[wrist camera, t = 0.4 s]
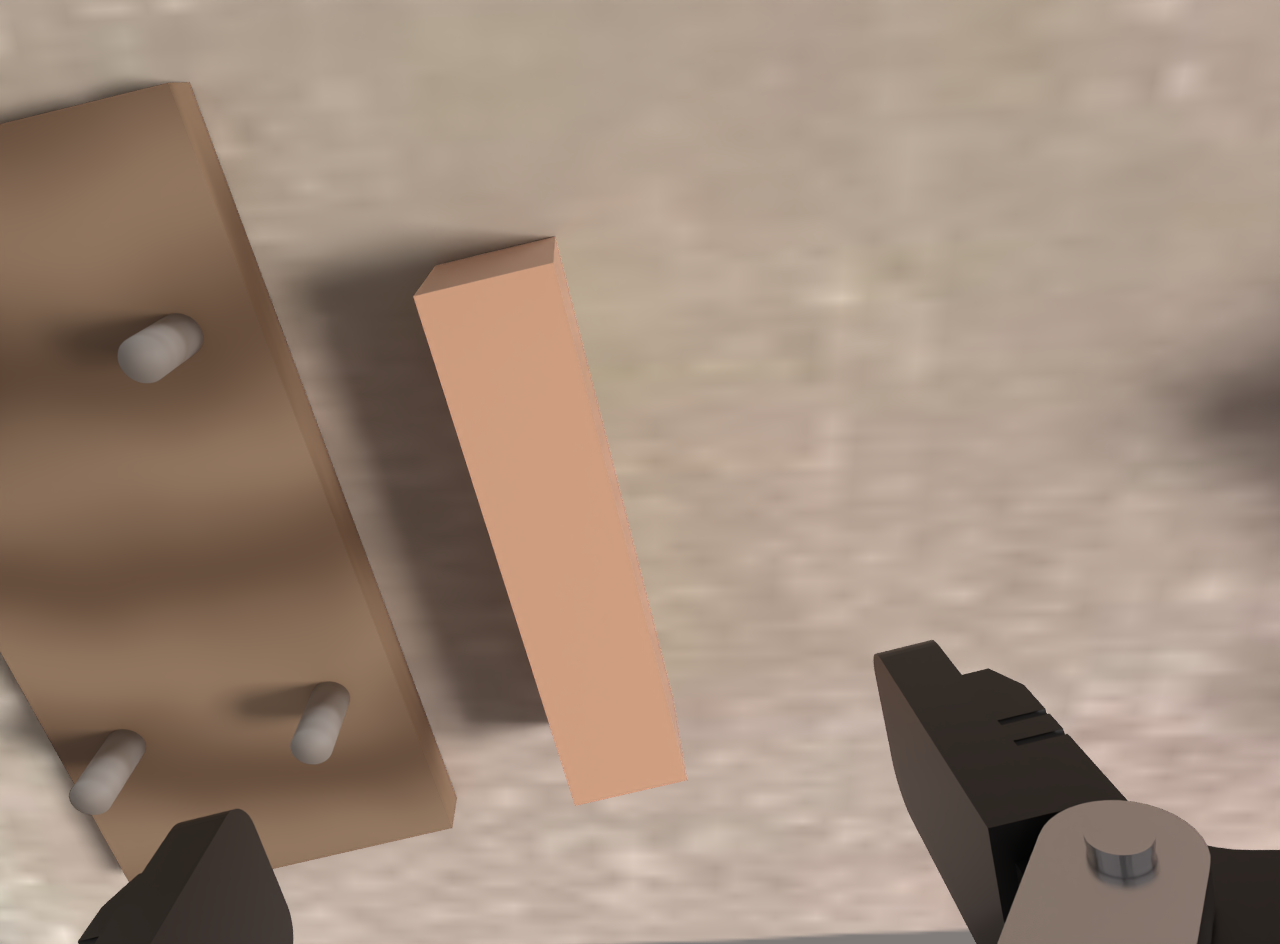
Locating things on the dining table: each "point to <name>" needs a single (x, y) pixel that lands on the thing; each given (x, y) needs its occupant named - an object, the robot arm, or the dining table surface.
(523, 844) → the dining table surface
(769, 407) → the dining table surface
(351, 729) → the rack
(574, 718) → the clay strip
